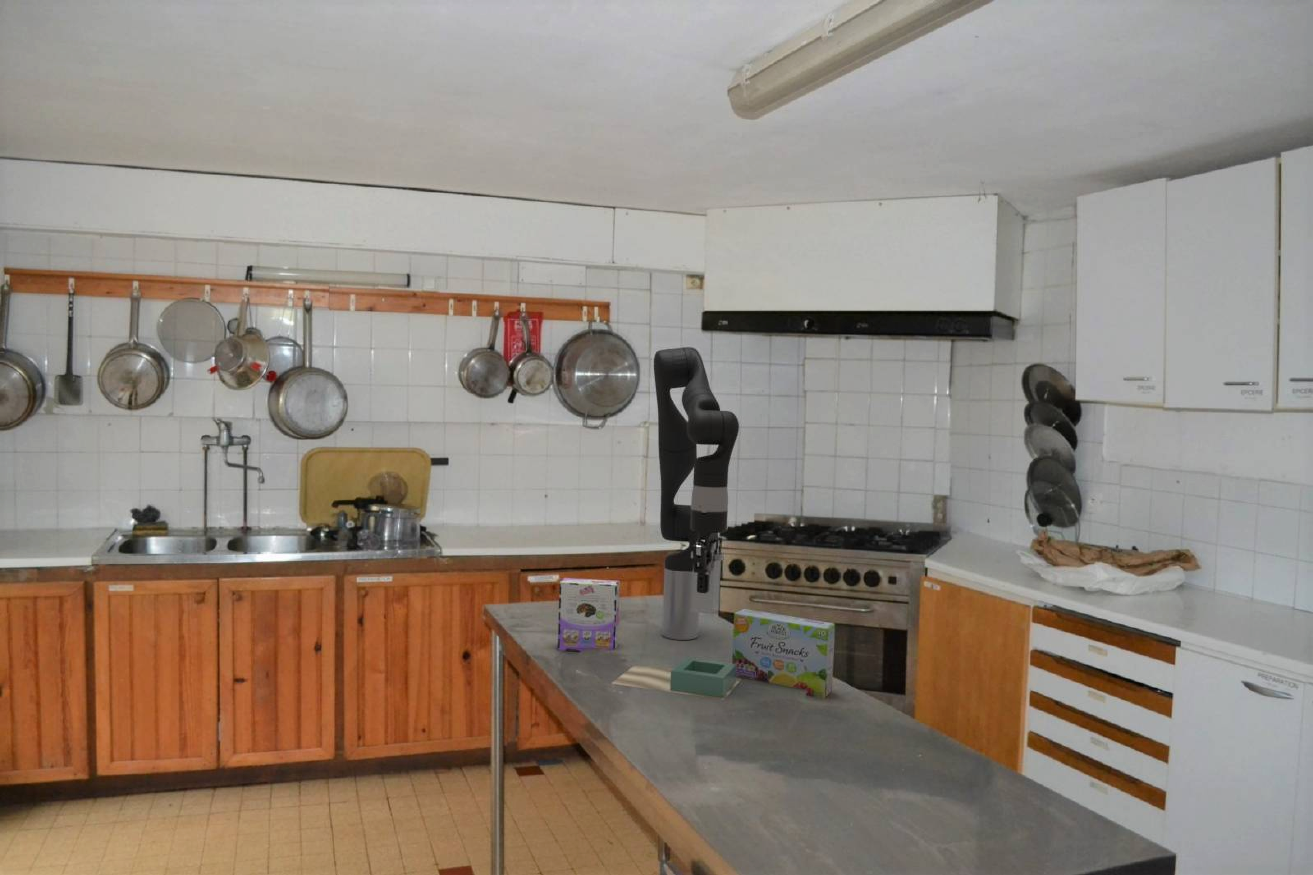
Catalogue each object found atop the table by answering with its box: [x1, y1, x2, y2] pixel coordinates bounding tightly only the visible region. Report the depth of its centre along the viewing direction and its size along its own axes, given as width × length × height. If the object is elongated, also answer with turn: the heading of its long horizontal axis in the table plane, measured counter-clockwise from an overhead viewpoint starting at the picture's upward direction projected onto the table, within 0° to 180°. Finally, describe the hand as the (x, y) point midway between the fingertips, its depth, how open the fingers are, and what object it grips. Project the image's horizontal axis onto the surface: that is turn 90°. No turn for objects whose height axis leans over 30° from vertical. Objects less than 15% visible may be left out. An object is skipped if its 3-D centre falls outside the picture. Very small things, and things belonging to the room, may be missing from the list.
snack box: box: [731, 608, 836, 700], centre depth 205 cm, size 21×6×15 cm, turn 62°
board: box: [611, 664, 743, 701], centre depth 202 cm, size 15×24×1 cm, turn 71°
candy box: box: [557, 577, 620, 653], centre depth 228 cm, size 14×6×16 cm, turn 84°
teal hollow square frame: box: [670, 656, 737, 698], centre depth 199 cm, size 11×11×4 cm
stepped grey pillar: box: [691, 552, 725, 615], centre depth 198 cm, size 4×6×12 cm
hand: (705, 589), depth 198 cm, fingers closed on stepped grey pillar, 4 cm apart
